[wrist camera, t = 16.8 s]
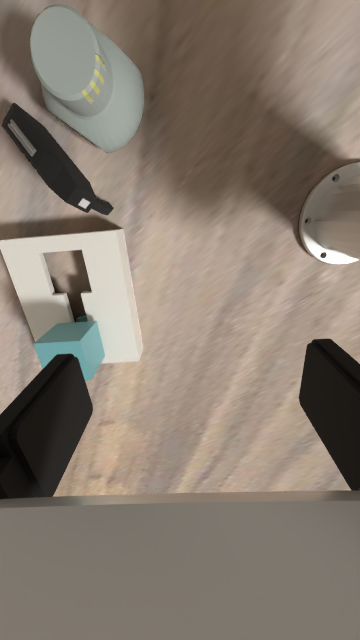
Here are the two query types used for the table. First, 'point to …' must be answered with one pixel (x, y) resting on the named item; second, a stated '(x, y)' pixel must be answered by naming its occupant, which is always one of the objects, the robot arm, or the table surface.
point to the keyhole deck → (100, 304)
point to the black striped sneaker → (51, 161)
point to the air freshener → (86, 78)
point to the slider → (73, 344)
